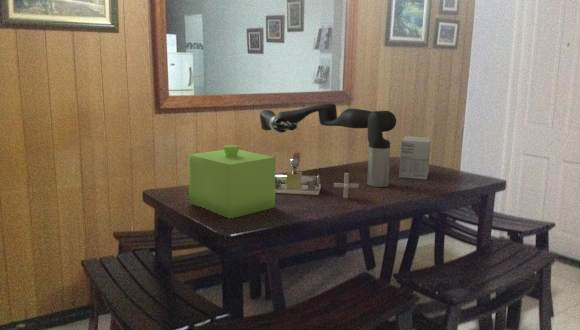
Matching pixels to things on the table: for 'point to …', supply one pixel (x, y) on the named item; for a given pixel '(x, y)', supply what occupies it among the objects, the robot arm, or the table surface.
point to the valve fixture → (297, 183)
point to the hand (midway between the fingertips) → (292, 128)
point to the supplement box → (414, 157)
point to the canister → (232, 181)
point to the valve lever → (295, 160)
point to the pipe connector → (346, 185)
